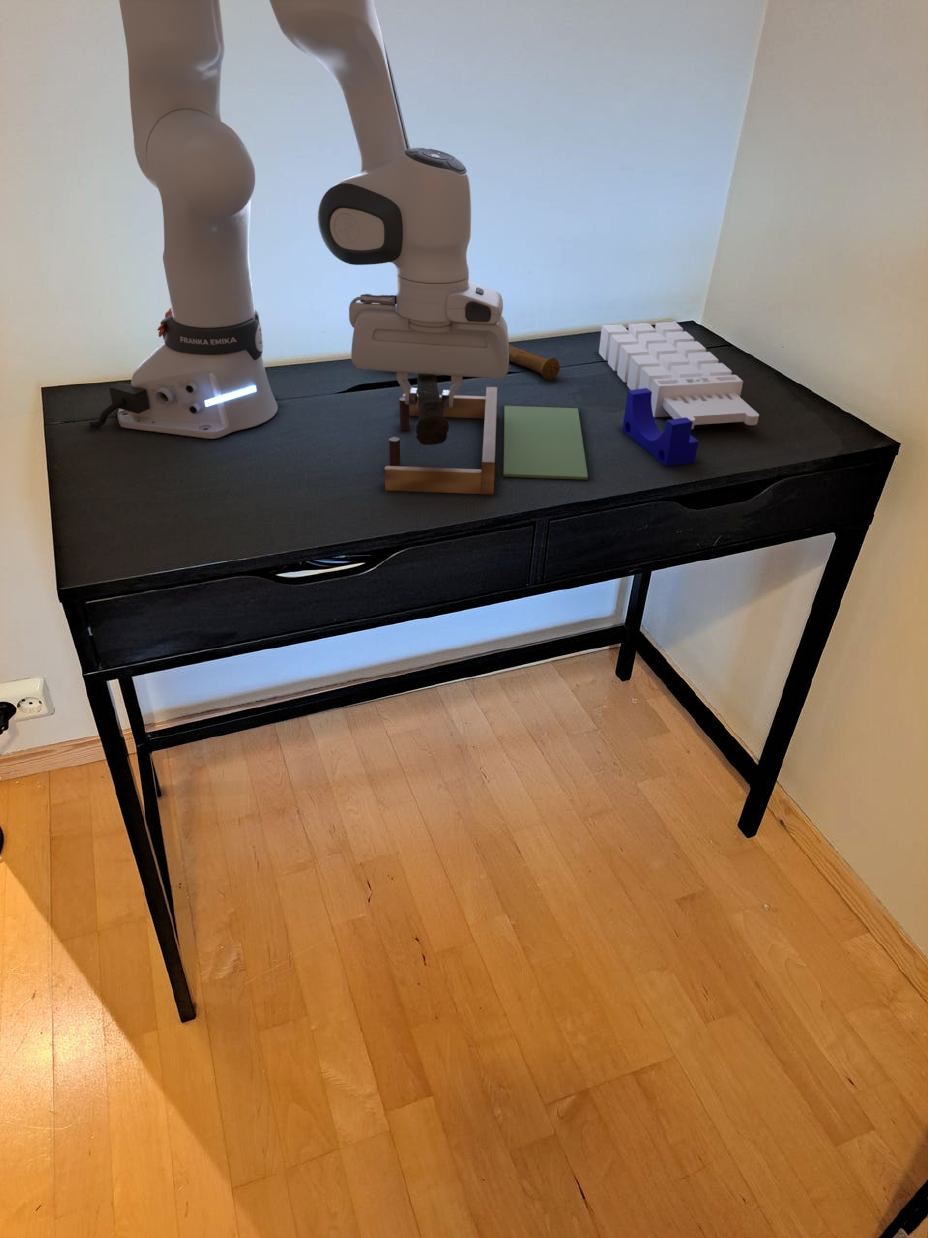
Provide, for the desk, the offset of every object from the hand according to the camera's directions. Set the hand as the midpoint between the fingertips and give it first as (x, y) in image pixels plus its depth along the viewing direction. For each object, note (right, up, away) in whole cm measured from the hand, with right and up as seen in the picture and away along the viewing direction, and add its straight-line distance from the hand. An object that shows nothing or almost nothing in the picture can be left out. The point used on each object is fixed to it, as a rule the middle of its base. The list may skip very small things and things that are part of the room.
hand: (429, 404), depth 119 cm
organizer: (+38, +7, +23) cm, 45 cm away
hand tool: (-1, -1, +1) cm, 2 cm away
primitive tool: (+13, +14, +31) cm, 37 cm away
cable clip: (+32, -4, +7) cm, 33 cm away
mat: (+16, -3, +7) cm, 18 cm away
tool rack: (+2, -5, +4) cm, 7 cm away
